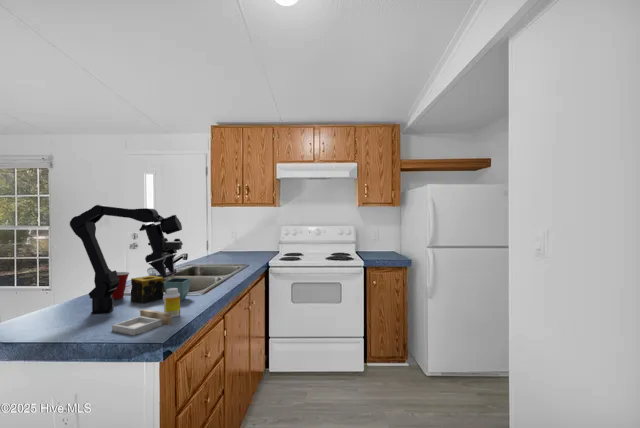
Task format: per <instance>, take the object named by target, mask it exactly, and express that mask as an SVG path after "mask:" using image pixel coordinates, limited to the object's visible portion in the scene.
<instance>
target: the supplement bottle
mask: <svg viewBox="0 0 640 428" xmlns="http://www.w3.org/2000/svg"><path fill="white" fill-rule="evenodd" d="M163 297H164V298H163V300H164V301H163V304H164V305H163V306H164V307H163V312H165V313H172V318H176V317H179V316H180V314H181V301H180V294H179V293H178V288H169V289H167V291H166V294H164V295H163Z"/></svg>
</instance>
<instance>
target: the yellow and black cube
mask: <svg viewBox="0 0 640 428" xmlns="http://www.w3.org/2000/svg"><path fill="white" fill-rule="evenodd" d="M164 278H165V277H163V276H157V275H146V276H140V277H132V278H130V281H131V283H130V285H131V291H130V301H131V302H135V303H138V304H147V303H151V302H156V301H160V300H164V295H165V294H164V293H165V292H164V282H165V279H164Z"/></svg>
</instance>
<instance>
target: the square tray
mask: <svg viewBox="0 0 640 428" xmlns="http://www.w3.org/2000/svg"><path fill="white" fill-rule="evenodd" d="M161 326H162V324H161V319H155V318H149V317H143V316H140V315H139V316H136V317H133V318H131V319H126V320H124V321H120V322H117V323H115V324H111V332H114V333H120V334H125V335H130V336H136V335H138V334H142V333H145V332H148V331H150V330H153V329H155V328H157V327H161Z"/></svg>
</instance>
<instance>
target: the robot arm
mask: <svg viewBox="0 0 640 428" xmlns="http://www.w3.org/2000/svg"><path fill="white" fill-rule="evenodd" d="M104 216H107V217H108V216H109V217H110V216H111V217H119V218H125V219H126V218H128V219H131V220H135V221H137V222H141V223H142V224H141V227H140V228H139V231H140V232H143V231H145V233H146V236H147V239H148V243H147V245H148V246H150V248H151V251H152V252H151V253H150V254H147V255H146V256H145V258H144V260H145V262H146V264H148V265H149V266H151V267H152V268H153V269H154V270H156V272H158V274H159V275H160V276H161V277H163V278H165V277H167V273H166V272H167V271H166V268H167V270H168V271H169V272H170V273H171V274H172V273H174V272H175V271H174V269H175V267H174V265H175V264H174V259H175V257H176V256H177V253H178V251H180V250H182V245H183V244H184V243H183V241H181V239H180V238H174V240H169V239H168V238H167V237H165V235H171V234H174V233H177V232H180V231H182V230H183V225H182V222H181V221H180V219H179V218H178V217H177V216H178V215H176V214H172V215H170V216H168V217H165V218H164V217H163V216H162V215H160V214H159V212H158V211H157V210H156V209H155V208H150V207H149V208H146V207H145V208H143V207H142V208H125V207H117V206H110V205H109V206H108V205H105V204H96V205H94V206H93V207H91V208H90V209H88V210H85V211H84V212H81V214H79V215H77V216H73V217H72V218H71V219H70V221H69V227H70V228H71V230H72V231H73V233H74V235H76V236H77V237H78V238H79V239H80V240H81V242H82V245H83V247H84V249H85V251H86V255H87V257H88V259H89V261H90V265H91V266H92V269H93V272H94V280H93V281H94V288H93V289H92V290H91V291H90V292H88V296H89V299H91V312H90V314H91V315H94V314H95V315H96V314H106V313H111V312H112V310H113V309H115V300H114V298H112V293H114V291H115V289H116V288H117V287H118V285H119V280H120V278H119V277H118V276H117V272H118V271H117V270H113V271H112V270H111V269H110V268H109V266H108V264H107V262H106V258H105V257H104V254H103V252H102V248H101V247H100V244H99V242H98V239H97V237H96V231H97V230H96V229H97V227H96V223H98V222H99V221H100V220H101V219H102V218H103V217H104ZM143 223H145V224H143ZM146 223H148V224H146ZM155 223H157V224H155ZM164 234H165V235H164ZM165 267H166V268H165Z"/></svg>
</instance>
